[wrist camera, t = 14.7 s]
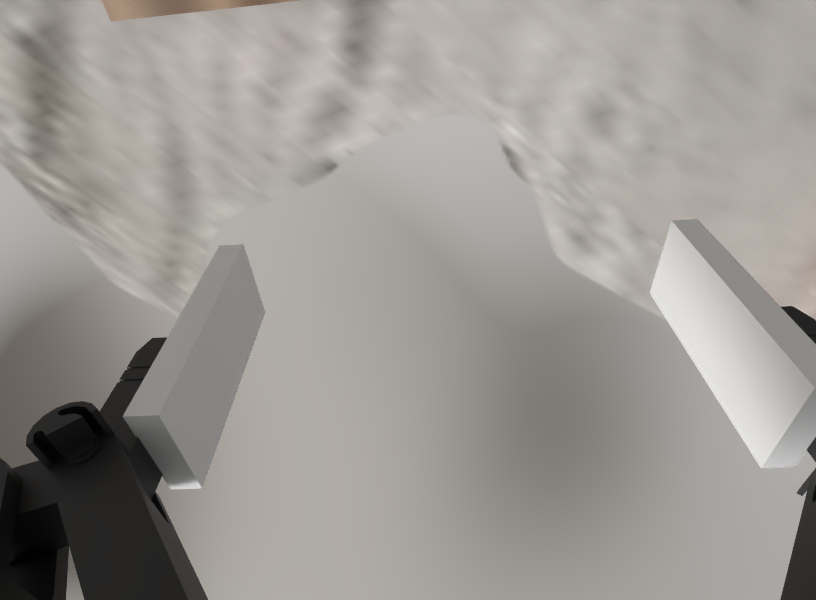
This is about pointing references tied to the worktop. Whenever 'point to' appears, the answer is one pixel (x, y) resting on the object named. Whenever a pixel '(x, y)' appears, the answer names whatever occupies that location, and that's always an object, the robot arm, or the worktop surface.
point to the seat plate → (171, 7)
